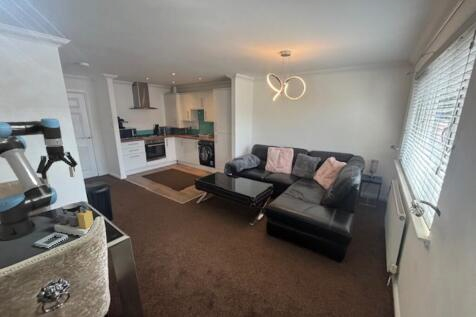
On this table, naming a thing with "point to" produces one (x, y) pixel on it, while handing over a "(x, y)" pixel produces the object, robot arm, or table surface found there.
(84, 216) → the plug
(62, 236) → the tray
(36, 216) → the table surface
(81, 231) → the strip
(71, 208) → the mug
